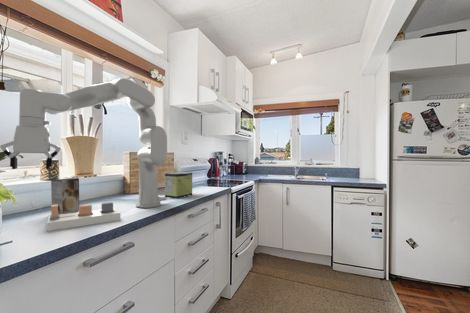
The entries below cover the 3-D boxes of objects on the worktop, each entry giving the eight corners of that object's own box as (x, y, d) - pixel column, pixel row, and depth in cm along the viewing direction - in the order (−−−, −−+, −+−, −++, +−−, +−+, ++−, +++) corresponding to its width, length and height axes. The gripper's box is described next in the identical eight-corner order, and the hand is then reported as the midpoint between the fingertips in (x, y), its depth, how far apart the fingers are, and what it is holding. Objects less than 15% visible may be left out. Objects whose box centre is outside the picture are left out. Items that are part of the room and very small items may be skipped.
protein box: (192, 195, 159) (192, 172, 158) (176, 198, 145) (176, 174, 145) (181, 193, 164) (181, 171, 164) (164, 197, 150) (164, 173, 150)
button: (112, 212, 104) (112, 201, 103) (114, 214, 100) (113, 203, 100) (100, 213, 101) (100, 203, 101) (102, 215, 97) (102, 204, 97)
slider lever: (59, 216, 92) (59, 204, 92) (59, 218, 89) (59, 205, 89) (49, 217, 90) (49, 205, 90) (49, 219, 87) (49, 206, 87)
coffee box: (69, 210, 115) (68, 177, 115) (79, 210, 114) (79, 178, 114) (50, 214, 106) (50, 179, 106) (62, 215, 105) (62, 180, 105)
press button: (91, 214, 99) (91, 204, 99) (92, 217, 95) (92, 206, 95) (78, 216, 96) (78, 205, 96) (79, 218, 93) (79, 207, 92)
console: (114, 214, 108) (114, 207, 108) (120, 219, 98) (120, 212, 98) (48, 223, 93) (48, 215, 93) (47, 231, 84) (47, 222, 84)
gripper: (62, 126, 95) (61, 168, 95) (4, 122, 86) (3, 168, 86) (60, 124, 88) (59, 169, 88) (-3, 119, 80) (-4, 169, 79)
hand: (31, 168), depth 87 cm, fingers open, 9 cm apart
